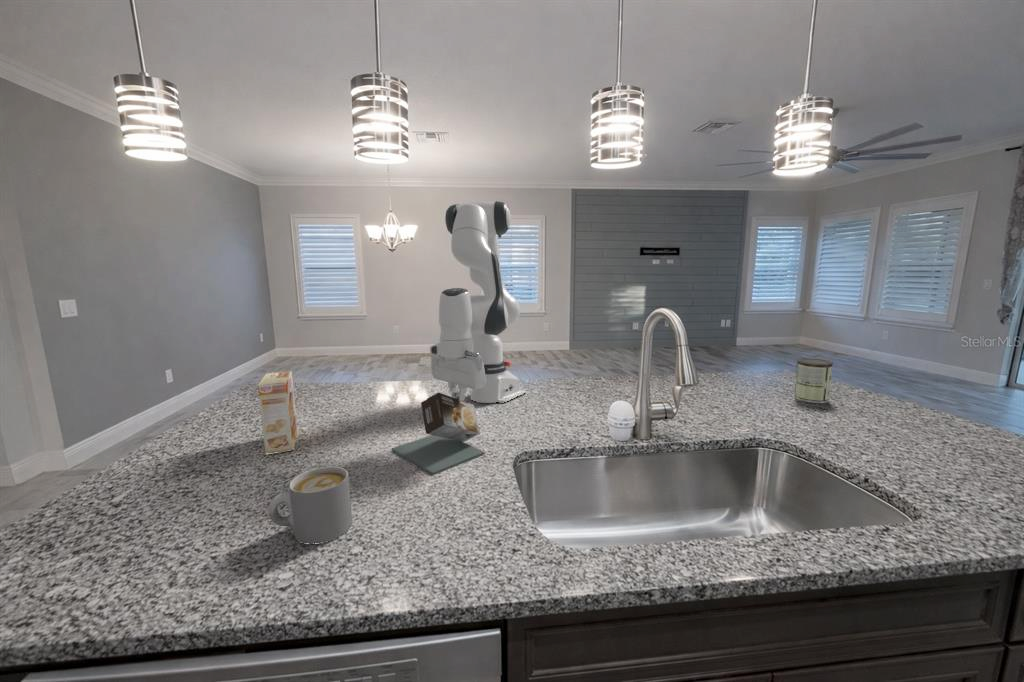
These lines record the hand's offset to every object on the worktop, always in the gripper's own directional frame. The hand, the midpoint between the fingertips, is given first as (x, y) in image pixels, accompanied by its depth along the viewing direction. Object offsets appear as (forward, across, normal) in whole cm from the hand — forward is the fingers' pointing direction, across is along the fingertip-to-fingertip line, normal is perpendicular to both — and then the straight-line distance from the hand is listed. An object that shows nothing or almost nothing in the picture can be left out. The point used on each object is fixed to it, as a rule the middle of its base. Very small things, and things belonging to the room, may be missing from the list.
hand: (458, 399), depth 113 cm
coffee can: (+12, -59, -114) cm, 129 cm away
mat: (+13, +1, +7) cm, 15 cm away
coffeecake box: (+14, +38, +34) cm, 53 cm away
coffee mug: (+15, -12, +42) cm, 46 cm away
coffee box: (+8, +1, -4) cm, 10 cm away
